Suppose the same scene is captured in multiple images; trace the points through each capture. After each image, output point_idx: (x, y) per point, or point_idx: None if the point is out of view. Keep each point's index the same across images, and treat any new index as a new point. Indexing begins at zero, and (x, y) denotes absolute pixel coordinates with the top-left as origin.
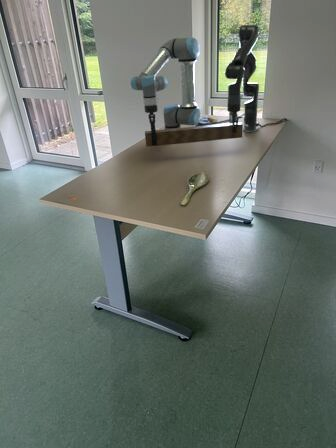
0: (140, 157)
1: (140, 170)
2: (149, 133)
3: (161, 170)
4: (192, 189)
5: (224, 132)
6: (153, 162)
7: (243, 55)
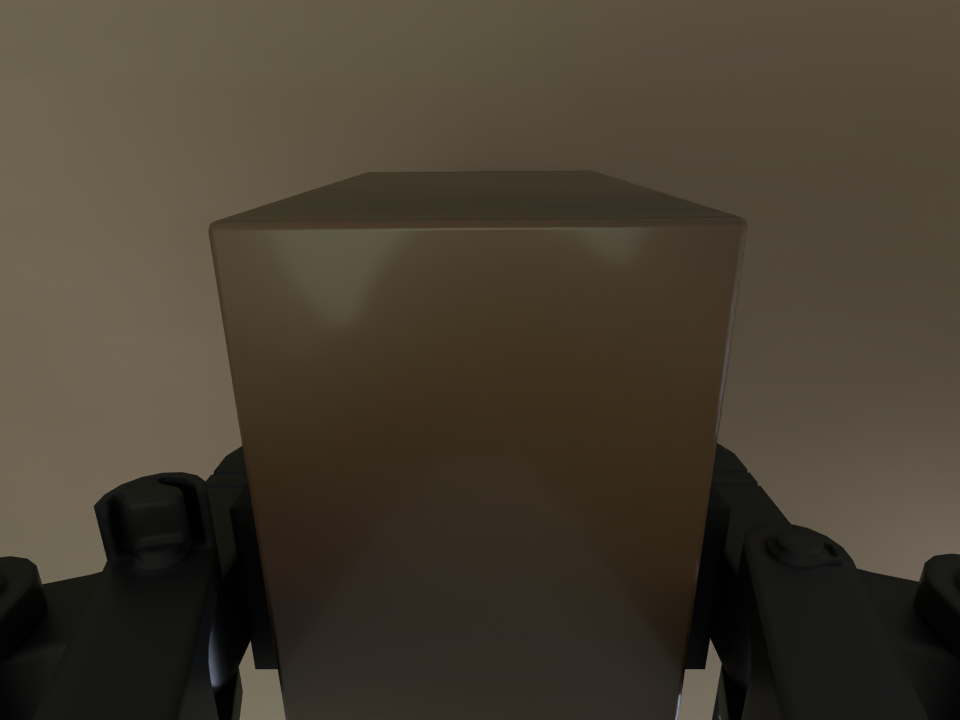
0: (735, 11)
1: (86, 10)
2: (249, 473)
3: (72, 347)
4: None
5: None
6: None
7: None
